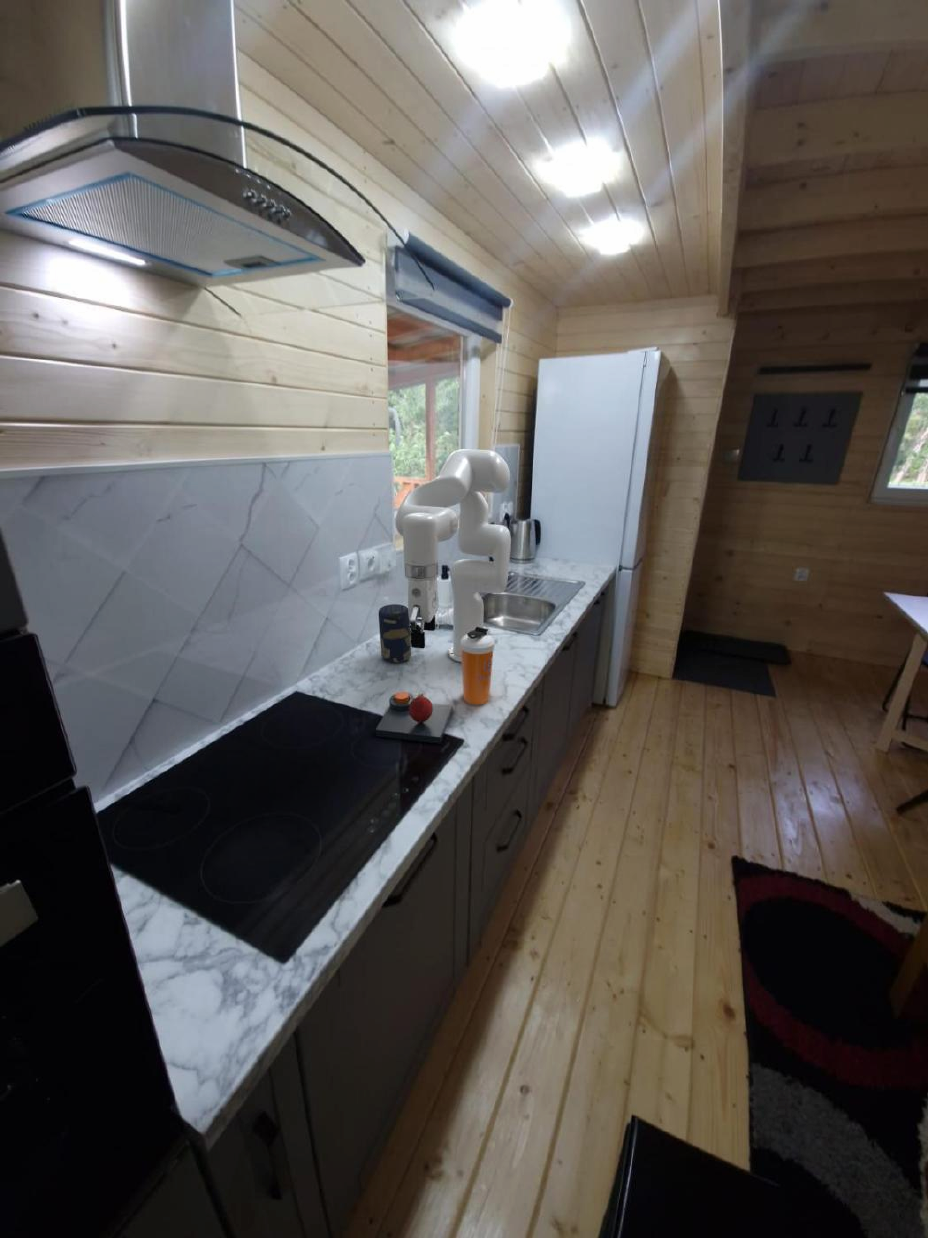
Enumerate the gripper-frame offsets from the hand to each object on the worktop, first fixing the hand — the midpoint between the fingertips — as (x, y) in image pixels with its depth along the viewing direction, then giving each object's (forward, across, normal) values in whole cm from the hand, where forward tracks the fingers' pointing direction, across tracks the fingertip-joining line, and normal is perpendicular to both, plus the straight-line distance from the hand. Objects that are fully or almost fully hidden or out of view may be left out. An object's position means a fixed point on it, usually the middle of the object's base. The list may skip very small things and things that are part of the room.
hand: (423, 638), depth 117 cm
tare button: (+20, +3, +7) cm, 21 cm away
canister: (+23, +32, +18) cm, 43 cm away
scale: (+23, -2, +2) cm, 23 cm away
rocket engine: (+24, +62, +5) cm, 67 cm away
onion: (+21, -4, 0) cm, 21 cm away
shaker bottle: (+23, +12, -11) cm, 29 cm away
